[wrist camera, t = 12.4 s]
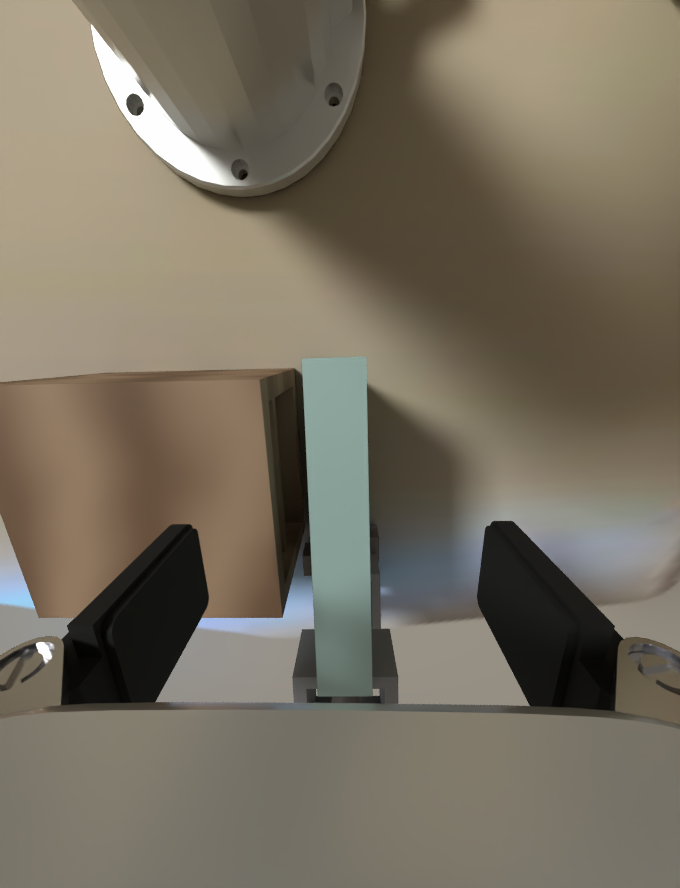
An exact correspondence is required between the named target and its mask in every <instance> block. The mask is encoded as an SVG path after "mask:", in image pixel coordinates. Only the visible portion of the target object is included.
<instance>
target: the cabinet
mask: <svg viewBox="0 0 680 888" xmlns="http://www.w3.org/2000/svg"><path fill="white" fill-rule="evenodd" d="M0 514H1V516H2V519H3V522H4V524H5V527H6V530H7V533H8V535H9V538H10V541H11V543H12V546H13V549H14V552H15V554H16V557H17V560H18V562H19V565H20V568H21V570H22V573H23V576H24V579H25V581H26V584H27V587H28V589H29V592H30V595H31V598H32V600H33V603H34V606H35V608H36V611H37V614H38V616H39V618H75V617H76V616H77V615H79V614H80V613H81V612H82V611H83V610H84V609H85V608H86V607H87V606H88V605H89V604H90V603H91V602H92V601H93V600H94V599H95V598H96V597H97V596H98V595H99V594H100V593H101V592H102V591H103V590H104V589H105V588H106V587H107V586H108V585H109V584H110V583H111V582H112V581H113V580H114V579H115V578H116V577H117V576H118V575H119V574H120V573H122V572H123V571H124V570H125V569H126V568H127V567H128V566H129V565H130V564H131V563H132V562H133V561H134V560H135V559H136V558H137V557H138V556H139V555H140V554H141V553H142V552H143V551H144V550H145V549H146V548H147V547H148V546H149V545H150V544H151V543H152V542H153V541H154V540H155V539H156V538H157V537H158V536H159V535H160V534H161V533H162V532H163V531H165V530H166V529H167V528H168V527H169V526H170V525H171V524H190V525H192V527H193V529H194V528H195V529H197V531H198V535H199V541H200V547H201V553H202V558H203V564H204V570H205V576H206V581H207V587H208V593H209V602H208V606H207V608H206V610H205V612H204V614H203V616H202V618H282V617H283V613H284V609H285V605H286V601H287V597H288V593H289V589H290V585H291V581H292V577H293V573H294V568H295V564H296V560H297V556H298V552H299V548H300V544H301V540H302V536H303V532H304V528H305V526H304V511H303V495H302V480H301V464H300V449H299V433H298V418H297V402H296V387H295V371H294V368H288V369H247V370H206V371H166V372H125V373H100V374H89V375H78V376H67V377H56V378H44V379H33V380H22V381H11V382H0ZM369 529H370V554H376V555H377V560H378V561H379V536H378V530H377V526H369ZM303 567H304V576H312V564H311V543H306V544H305V548H304V553H303ZM331 703H360V696H332V702H331Z"/></svg>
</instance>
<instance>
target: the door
mask: <svg viewBox="0 0 680 888" xmlns="http://www.w3.org/2000/svg"><path fill="white" fill-rule="evenodd" d="M302 373H303V394H304V416H305V437H306V458H307V479H308V500H309V522H310V543H311V564H312V585H313V607H314V628H315V629H302V633H301V638H300V643H299V648H298V654H297V658H296V663H295V667H294V673H293V694H294V703H331V702H332V696H360V703H378V704H398V674H397V668H396V662H395V657H394V651H393V645H392V640H391V634H390V629H381V614H380V572H379V566H378V560H377V555H376V554H370V529H369V476H368V422H367V368H366V357H340V358H312V359H302ZM316 689H317V691H318V696H316ZM372 689H380V696H373V692H372Z"/></svg>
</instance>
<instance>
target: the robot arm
mask: <svg viewBox="0 0 680 888" xmlns="http://www.w3.org/2000/svg"><path fill="white" fill-rule="evenodd" d="M72 1H73V2H74V3H75V5H76V6H77V7H78V9H79V10H80V11H81V12H82V14H83V15H84V16H85V17H86V19H87V20H88V21H89V23H90V26H91V32H92V37H93V43H94V48H95V52H96V55H97V58H98V61H99V64H100V67H101V70H102V73H103V76H104V79H105V82H106V84H107V86H108V88H109V90H110V92H111V94H112V96H113V98H114V100H115V102H116V104H117V106H118V108H119V110H120V112H121V113H122V114H123V116H124V117H125V119H126V120H127V122H128V123H129V125H130V126H131V127H132V129H133V130H134V132H135V133H136V135H137V136H138V137H139V138H140V139H141V140H142V141H143V142H144V144H145V145H146V146H147V147H148V148H149V149H150V150H151V151H152V152H153V153H154V154H155V155H156V156H157V157H158V158H159V159H160V160H161V161H162V162H163V163H165V164H166V165H167V166H168V167H169V168H170V169H171V170H172V171H174V172H175V173H176V174H177V175H179V176H181V177H182V178H184V179H186V180H187V181H189V182H191V183H192V184H194V185H196V186H197V187H200V188H203V189H206V190H209V191H211V192H214V193H217V194H221V195H229V196H236V197H248V196H259V195H265V194H268V193H271V192H274V191H277V190H280V189H283V188H286V187H287V186H289V185H291V184H292V183H294V182H295V181H297V180H299V179H300V178H302V177H304V176H305V175H306V174H307V173H308V172H310V171H311V170H312V169H313V168H314V167H315V166H316V165H317V164H318V163H319V162H320V161H321V160H322V159H323V158H324V157H325V156H326V154H327V153H328V151H329V150H330V149H331V147H332V146H333V144H334V143H335V142H336V140H337V139H338V138H339V136H340V134H341V132H342V130H343V128H344V125H345V123H346V121H347V119H348V117H349V115H350V113H351V111H352V108H353V104H354V101H355V98H356V94H357V91H358V88H359V84H360V80H361V73H362V66H363V59H364V52H365V29H366V6H365V0H72ZM334 103H335V104H338V105H337V106H334V107H333V106H331V105H332V104H334ZM244 174H248V176H247V177H246V179H244V180H241V177H242V176H243V175H244ZM477 599H478V604H479V607H480V609H481V611H482V613H483V615H484V617H485V619H486V621H487V623H488V625H489V627H490V629H491V631H492V633H493V635H494V637H495V639H496V641H497V642H498V644H499V646H500V648H501V650H502V652H503V654H504V656H505V658H506V660H507V662H508V664H509V666H510V668H511V670H512V672H513V674H514V676H515V678H516V680H517V681H518V684H519V685H520V687H521V689H522V691H523V693H524V695H525V697H526V699H527V701H528V703H529V705H530V706H508V705H450V704H445V705H444V704H378V703H230V702H227V703H224V702H222V703H221V702H220V703H219V702H214V703H212V702H211V703H210V702H205V703H203V702H192V703H191V702H186V703H185V702H175V703H174V702H170V703H169V702H163V703H162V702H155V701H156V700H157V698H158V696H159V694H160V692H161V690H162V689H163V687H164V685H165V683H166V681H167V679H168V678H169V676H170V674H171V672H172V670H173V669H174V667H175V665H176V663H177V661H178V659H179V658H180V656H181V654H182V652H183V650H184V649H185V647H186V645H187V643H188V641H189V639H190V638H191V636H192V634H193V632H194V630H195V629H196V627H197V625H198V623H199V621H200V620H201V618H202V616H203V614H204V612H205V610H206V608H207V606H208V602H209V593H208V587H207V581H206V576H205V570H204V564H203V558H202V553H201V547H200V541H199V535H198V531H197V529H195V528H194V529H193V527H192V525H190V524H171V525H170V526H169V527H168V528H167V529H166V530H165V531H163V532H162V533H161V534H160V535H159V536H158V537H157V538H156V539H155V540H154V541H153V542H152V543H151V544H150V545H149V546H148V547H147V548H146V549H145V550H144V551H143V552H142V553H141V554H140V555H139V556H138V557H137V558H136V559H135V560H134V561H133V562H132V563H131V564H130V565H129V566H128V567H127V568H126V569H125V570H124V571H123V572H122V573H120V574H119V575H118V576H117V577H116V578H115V579H114V580H113V581H112V582H111V583H110V584H109V585H108V586H107V587H106V588H105V589H104V590H103V591H102V592H101V593H100V594H99V595H98V596H97V597H96V598H95V599H94V600H93V601H92V602H91V603H90V604H89V605H88V606H87V607H86V608H85V609H84V610H83V611H82V612H81V613H80V614H79V615H77V616H76V617H75V618H74V619H73V620H72V621H71V622H70V623H69V624H68V625H67V627H68V630H69V633H68V634H67V635H66V636H65V637H64V638H63V639H62V640H61V639H59V638H58V637H54V636H46V637H39V638H36V639H32V640H30V641H27V642H24V643H22V644H20V645H18V646H16V647H14V648H11V649H10V650H8V651H7V652H5V653H3V654H2V655H0V888H680V652H679V651H677V650H675V649H672V648H671V647H669V646H666V645H664V644H662V643H659V642H656V641H653V640H650V639H646V638H639V637H630V638H626V639H623V638H622V637H621V636H620V635H619V634H618V633H617V632H616V631H615V630H614V627H615V626H614V625H613V624H612V623H611V622H610V621H609V620H608V619H607V618H606V617H605V615H604V614H603V613H602V612H601V611H600V610H599V609H598V608H597V607H596V606H595V605H594V604H593V603H592V602H591V601H590V600H589V599H588V598H587V597H586V596H585V595H584V594H583V593H582V592H581V591H580V590H579V589H578V588H577V587H576V586H575V585H574V584H573V582H572V581H571V580H570V579H569V578H568V577H567V576H566V575H565V574H564V573H563V572H562V571H561V570H560V569H559V568H558V567H557V566H556V565H555V564H554V563H553V562H552V561H551V560H550V559H549V558H548V557H547V556H546V555H545V554H544V553H543V552H542V551H541V550H540V548H539V547H538V546H537V545H536V544H535V543H534V542H533V541H532V540H531V539H530V538H529V537H528V536H527V535H526V534H525V533H524V532H523V531H522V530H521V529H520V528H519V527H518V526H517V525H516V524H515V523H514V522H513V521H493V522H492V523H491V525H490V526H487V527H486V528H485V535H484V543H483V551H482V560H481V568H480V576H479V585H478V593H477Z"/></svg>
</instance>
